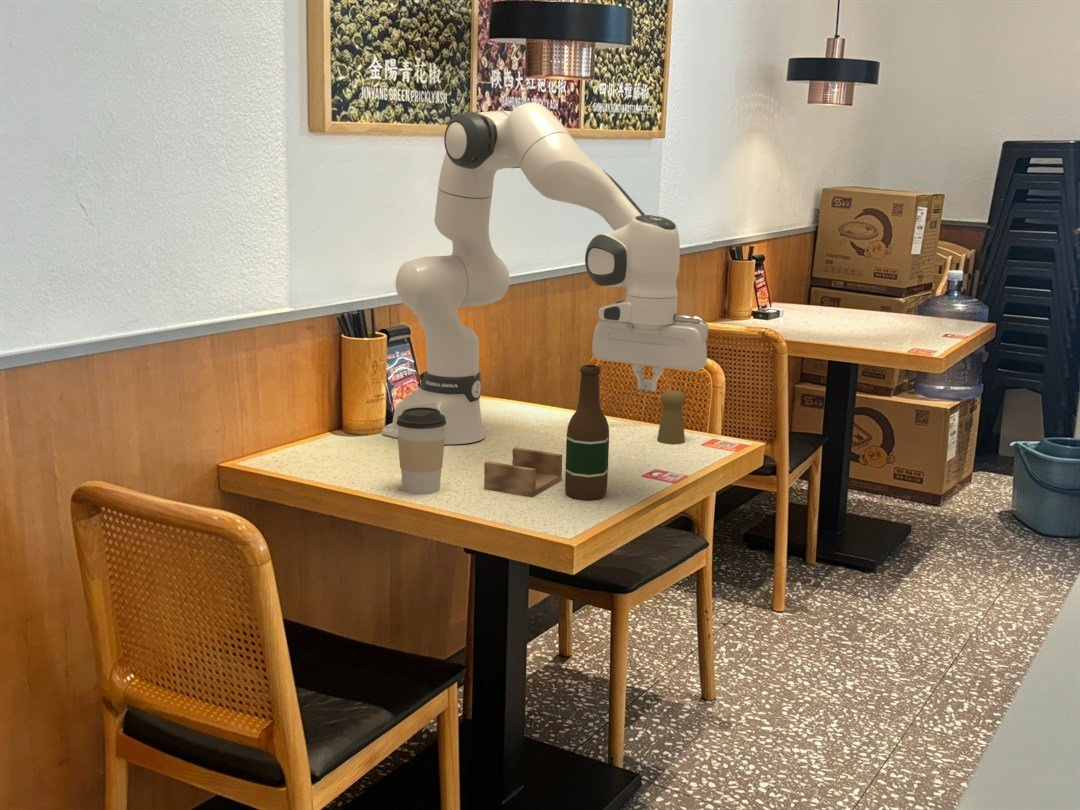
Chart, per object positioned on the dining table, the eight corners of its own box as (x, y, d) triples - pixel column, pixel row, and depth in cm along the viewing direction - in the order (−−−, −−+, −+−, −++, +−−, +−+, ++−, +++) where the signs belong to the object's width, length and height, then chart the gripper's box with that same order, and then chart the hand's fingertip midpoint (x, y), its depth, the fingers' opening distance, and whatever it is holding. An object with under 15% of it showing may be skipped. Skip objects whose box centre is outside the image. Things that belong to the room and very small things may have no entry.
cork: (682, 437, 252) (685, 388, 250) (686, 444, 247) (689, 394, 244) (655, 436, 252) (657, 387, 250) (658, 444, 246) (661, 394, 244)
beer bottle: (562, 488, 214) (566, 361, 208) (604, 488, 214) (609, 362, 209) (566, 501, 206) (570, 370, 201) (609, 501, 207) (615, 370, 201)
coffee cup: (386, 488, 211) (385, 408, 208) (422, 478, 218) (422, 401, 214) (419, 499, 205) (419, 417, 202) (456, 488, 212) (456, 409, 208)
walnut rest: (484, 488, 212) (484, 462, 211) (515, 472, 223) (515, 447, 222) (532, 497, 208) (533, 470, 207) (561, 479, 219) (562, 454, 218)
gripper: (714, 315, 196) (709, 394, 199) (604, 304, 205) (601, 380, 208) (702, 319, 190) (697, 401, 194) (590, 308, 199) (587, 386, 202)
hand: (646, 390), depth 201 cm, fingers closed
